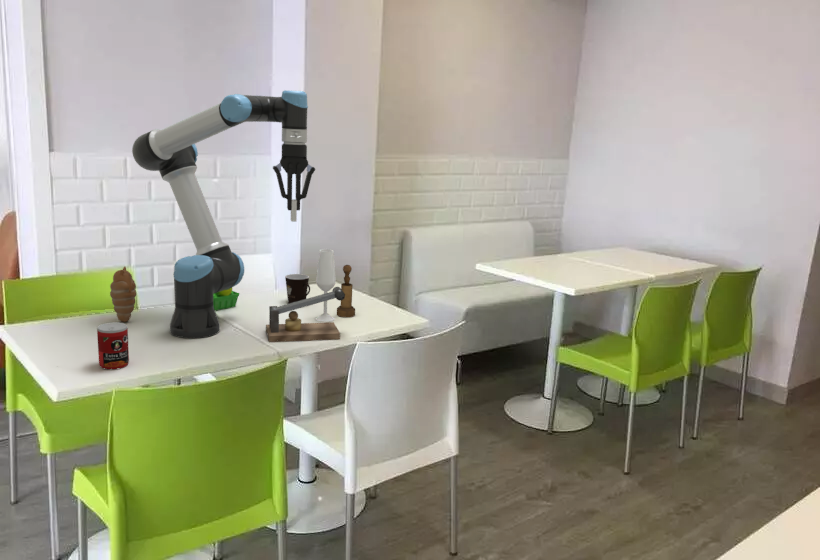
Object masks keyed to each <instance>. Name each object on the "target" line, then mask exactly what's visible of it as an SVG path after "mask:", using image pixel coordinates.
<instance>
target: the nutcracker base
mask: <svg viewBox="0 0 820 560" xmlns="http://www.w3.org/2000/svg"><path fill="white" fill-rule="evenodd" d="M271 307H278V305H270V306H269V307H268V308H269V309H268V310H269V317H268V318H269V322H268V324H266V325H265V332H266V335H267V338H268V342H269V343H281V342H283V343H286V342H302V341H303V342H306V341H307V342H308V341H329V340H330V341H331V340H332V341H333V340H334V341H335V340H336V341H337V340H341V332H340V331H339V329H338V327H337V325H336V324H335V322H334V321H328V322H304V323H303V322H302V319H301V318H299V314H298V312H297V311H295V310H292V311H289V313H288V318H286V319H285V321H284V322H285V323H280V314H279V310H271V313H270V308H271Z"/></svg>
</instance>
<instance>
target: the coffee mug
mask: <svg viewBox="0 0 820 560" xmlns="http://www.w3.org/2000/svg"><path fill="white" fill-rule="evenodd" d="M284 279H285V286H286V295H287V304H290V303H293V302H297V301H300V300H304V299H307V296H308V295H309V294H310V292H311V286H310V284H309V281H310V276H309V275H308V274H307V275H306V274H301V273H292V274H291V273H290V274H287V275H285V278H284Z"/></svg>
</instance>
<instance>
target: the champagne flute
mask: <svg viewBox="0 0 820 560" xmlns="http://www.w3.org/2000/svg"><path fill="white" fill-rule="evenodd" d="M318 251H319V253H318V262H317V272H316V279H315V283H316V285H317V287H318V288H319V289H320V290H321V291H322V292H323V294H325V293H329V292H330V291H331V290H333V288H335V285H336V284H337V282H336V281H337V280H336V267H335V254H334V253H335V252H334V251H335V250H333V249H330V248H322V249H321V248H320V249H319V250H318ZM315 320H316V321H318V322H322V323H328V322H334V321H335V320H336V318H335V317H333V316H332V315H330V314H329V313H328V300H327V301H324V302H323V313H322V314H320V315H318V316H317V317H315Z"/></svg>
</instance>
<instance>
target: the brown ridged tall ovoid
mask: <svg viewBox="0 0 820 560" xmlns="http://www.w3.org/2000/svg"><path fill="white" fill-rule="evenodd" d="M109 287H110V292H109V294H110V295H109V297H110V298H111V303H112V305H113V310H114V312H115V313H116V317H117V319H118V321H120V323H127V322H128V321H130V319H131V317H132V313H133V312H134V309H135V304H136V296H137V290H136V288H137V284H136V282H135V280H134V278H133V275H132V274H131V272H129V270H127V267H126V266H124V267H123V268H122V269H119V270H116V271H115V272H114V273H113V275H112V282H111V283H110V285H109Z"/></svg>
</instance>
